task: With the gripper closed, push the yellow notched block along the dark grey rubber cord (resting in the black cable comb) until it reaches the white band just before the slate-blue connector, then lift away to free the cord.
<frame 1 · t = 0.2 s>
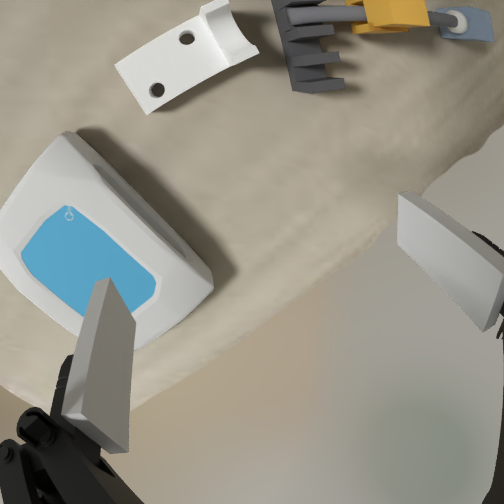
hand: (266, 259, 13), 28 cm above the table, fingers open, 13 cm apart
bracket: (182, 59, 31), on the table
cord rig: (380, 18, 31), on the table
yellow notched block: (385, 11, 25), point 7 cm above the table, slide at 0.0 cm
document scanner: (96, 248, 41), on the table
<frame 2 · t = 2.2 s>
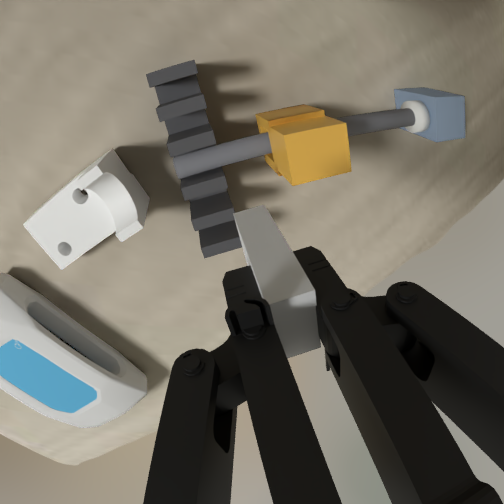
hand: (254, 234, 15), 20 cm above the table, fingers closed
bracket: (88, 203, 32), on the table
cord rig: (312, 121, 32), on the table
yellow notched block: (299, 141, 26), point 7 cm above the table, slide at 0.0 cm
document scanner: (49, 352, 42), on the table
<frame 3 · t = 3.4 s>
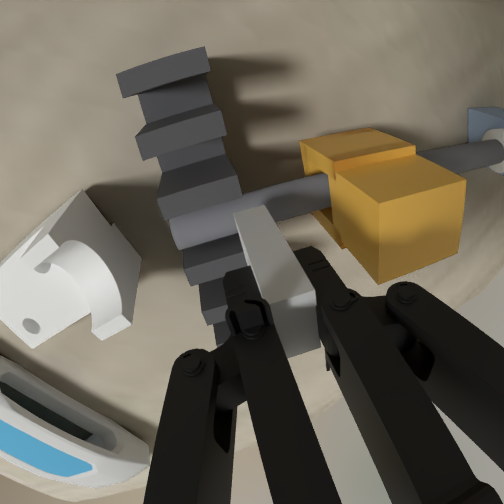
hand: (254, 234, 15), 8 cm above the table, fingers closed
bracket: (58, 262, 22), on the table
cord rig: (371, 149, 22), on the table
yellow notched block: (375, 193, 16), point 7 cm above the table, slide at 0.0 cm
document scanner: (35, 414, 32), on the table
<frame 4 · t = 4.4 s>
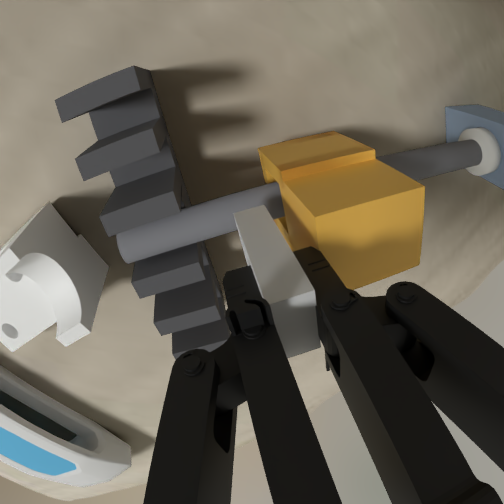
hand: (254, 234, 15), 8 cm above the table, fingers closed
bracket: (33, 270, 22), on the table
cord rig: (335, 154, 22), on the table
yellow notched block: (332, 201, 16), point 7 cm above the table, slide at 0.5 cm, touching gripper
document scanner: (22, 415, 32), on the table
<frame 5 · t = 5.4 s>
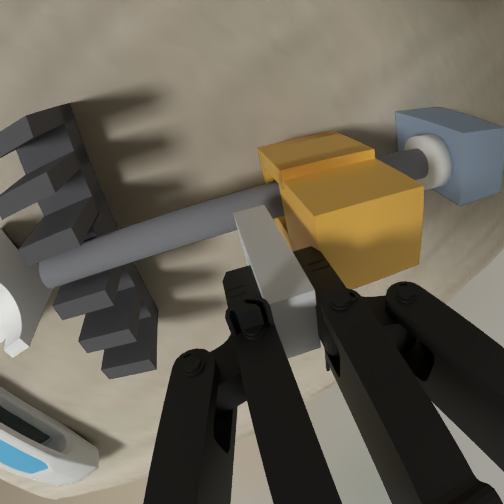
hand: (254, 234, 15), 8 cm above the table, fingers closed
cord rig: (260, 172, 22), on the table
yellow notched block: (331, 201, 16), point 7 cm above the table, slide at 6.3 cm, touching gripper
document scanner: (1, 415, 32), on the table
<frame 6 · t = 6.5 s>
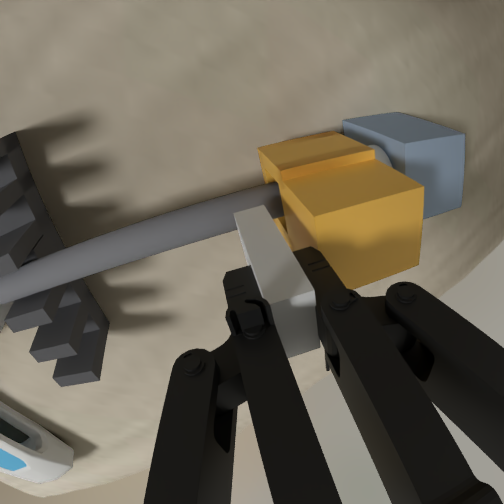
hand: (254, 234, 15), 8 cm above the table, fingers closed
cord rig: (193, 191, 22), on the table
yellow notched block: (331, 201, 16), point 7 cm above the table, slide at 11.1 cm, touching gripper
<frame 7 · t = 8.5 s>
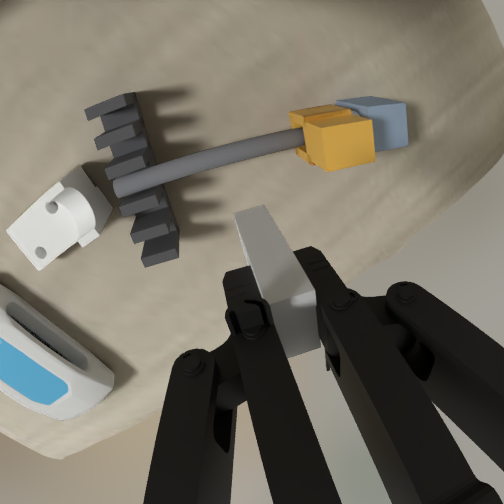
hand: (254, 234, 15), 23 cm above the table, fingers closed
bracket: (62, 212, 35), on the table
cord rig: (248, 138, 35), on the table
yellow notched block: (329, 136, 30), point 7 cm above the table, slide at 11.0 cm
document scanner: (29, 348, 45), on the table
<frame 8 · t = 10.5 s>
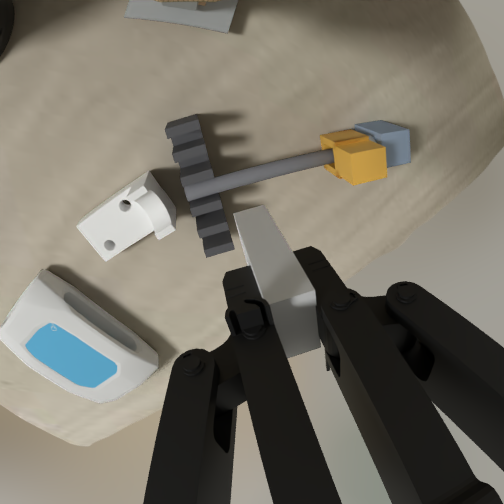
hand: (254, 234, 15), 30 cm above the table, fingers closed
bracket: (128, 210, 45), on the table
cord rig: (287, 154, 45), on the table
yellow notched block: (352, 156, 39), point 7 cm above the table, slide at 11.0 cm
document scanner: (76, 335, 54), on the table
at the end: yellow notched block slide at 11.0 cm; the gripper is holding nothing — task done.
